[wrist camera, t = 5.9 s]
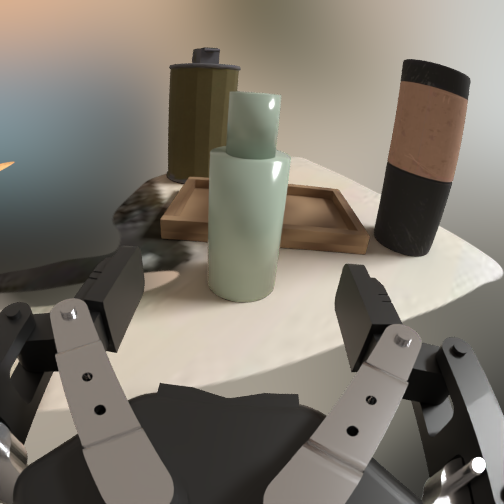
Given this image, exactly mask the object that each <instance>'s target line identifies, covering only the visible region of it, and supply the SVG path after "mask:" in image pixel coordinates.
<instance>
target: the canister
mask: <svg viewBox="0 0 504 504" xmlns="http://www.w3.org/2000/svg"><path fill="white" fill-rule="evenodd" d="M219 53H220V49H218V48H201V49H194V50H193V57H192V62H193V63H188V64H174V65H170V67H169V68H170V69H171V72H170V94H169V127H168V132H169V133H168V172H167V177H168V178H169V179H170V180H172V181H175V182H179V183H183V184H185V182H186V181H187V179H188V178H189V177H204V178H209V172H210V151H211V150H212V149H215V148H218V147H222V146H226V141H227V124H228V109H229V94H230V91H237V86H238V72H239V70H240V67H239V66H235V65H225V64H219Z"/></svg>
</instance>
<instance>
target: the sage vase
mask: <svg viewBox="0 0 504 504" xmlns="http://www.w3.org/2000/svg"><path fill="white" fill-rule="evenodd" d="M280 105H281V95H276V94H267V93H257V92H256V93H255V92H239V91H230V94H229V109H228V124H227V141H226V146H222V147H218V148H215V149H212V150H211V151H210V172H209V208H208V285H209V287H210V289H211V290H212V291H213V292H214V293H215V294H216V295H218V296H219V297H221V298H224V299H226V300H230V301H234V302H253V301H257V300H260V299H263V298H265V297H266V296H268V295H269V294H270V293H271V292H272V291H273V289H274V284H275V277H276V270H277V263H278V256H279V248H280V241H281V233H282V226H283V218H284V211H285V203H286V195H287V187H288V179H289V170H290V162H291V157H290V156H289V155H288V154H287V153H284V152H282V151H278V150H276V145H277V136H278V125H279V115H280Z"/></svg>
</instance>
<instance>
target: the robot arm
mask: <svg viewBox="0 0 504 504" xmlns="http://www.w3.org/2000/svg"><path fill="white" fill-rule="evenodd" d="M143 292H144V272H143V264H142V255H141V250H140V248H139V247H132V246H120V247H119V249H118V250H117V252H116V253H115V254H114V256H113V257H107V258H106V259H104V260H103V261H101V262H100V263H99V264H98V265H97V266H96V268H95V269H94V270H93V272H92V273H91V275H90V276H89V279H87V280H86V281H85V283H84V284H83V286H82V287H81V289H80V290H79V292H78V293H77V294H76V296H75V297H74V298H71V299H66V300H63V301H61V302H59V303H57V304H56V305H55V306H54V307H53V308H52V310H51V312H50V313H44V314H33V313H32V311H31V308H30V306H29V305H28V304H26V303H22V302H17V303H13V304H11V305H9V306H7V307H5V308H4V309H3V310H2V311H1V313H0V503H3V504H504V416H503V414H502V411H501V409H500V407H499V404H498V402H497V399H496V397H495V395H494V393H493V390H492V388H491V386H490V384H489V382H488V380H487V377H486V375H485V373H484V371H483V369H482V367H481V365H480V363H479V361H478V359H477V357H476V355H475V353H474V351H473V349H472V347H471V346H470V345H469V344H468V343H467V342H465V341H464V340H462V339H460V338H456V337H449V338H446V339H445V340H444V341H443V343H442V345H441V347H439V346H434V345H430V344H425V343H422V341H421V338H420V336H419V334H418V333H417V332H416V331H415V330H414V329H412V328H410V327H408V326H406V325H403V324H402V322H401V320H400V318H399V316H398V314H397V312H396V310H395V308H394V306H393V304H392V303H391V300H390V298H389V296H388V294H387V292H386V290H385V288H384V286H383V285H382V284H381V283H380V282H379V281H378V280H377V279H376V278H370V276H369V274H368V272H367V270H366V268H365V266H364V265H357V264H345V265H344V267H343V270H342V274H341V278H340V281H339V285H338V289H337V292H336V296H335V312H336V315H337V319H338V323H339V326H340V330H341V334H342V337H343V341H344V345H345V348H346V352H347V356H348V360H349V364H350V368H351V372H357V373H356V375H355V376H354V378H353V379H352V381H351V382H350V384H349V386H348V387H347V389H346V390H345V391H344V393H343V394H342V396H341V397H340V398H339V400H338V401H337V403H336V404H335V405H334V407H333V408H332V410H331V411H330V412H329V414H328V415H327V416H326V415H324V414H323V413H321V412H319V411H318V410H315V409H313V408H311V407H308V406H304V405H301V404H299V399H298V394H270V393H269V394H268V393H263V394H257V395H250V396H243V397H236V398H225V397H221V396H218V395H215V394H212V393H209V392H205V391H202V390H199V389H196V388H193V387H186V386H178V385H171V384H164V383H160V385H159V388H158V392H157V393H149V394H144V395H140V396H137V397H134V398H132V399H130V400H127V398H126V396H125V394H124V392H123V390H122V388H121V386H120V383H119V381H118V379H117V377H116V375H115V372H114V370H113V368H112V366H111V363H110V361H109V359H108V356H107V354H106V351H109V352H115V353H117V351H118V349H119V346H120V344H121V342H122V339H123V337H124V335H125V332H126V330H127V328H128V326H129V323H130V321H131V319H132V317H133V315H134V312H135V310H136V308H137V306H138V304H139V302H140V300H141V297H142V295H143ZM16 358H18V360H19V363H18V365H17V367H16V368H15V370H14V372H13V374H12V376H11V378H10V370H11V367H12V366H13V364H14V362H15V360H16ZM54 371H59V374H60V377H61V381H62V385H63V388H64V392H65V395H66V399H67V402H68V405H69V409H70V411H71V415H72V418H73V421H74V423H75V427H76V429H77V432H78V434H77V435H75V436H74V437H72V438H71V439H69V440H67V441H66V442H64V443H63V444H61V445H60V446H58V447H57V448H55V449H54V450H52V451H50V452H49V453H47V454H46V455H44V456H43V457H41V458H39V459H38V460H36V461H35V462H33V463H31V464H30V465H29V466H28V464H27V459H28V458H27V457H28V456H27V451H26V449H25V447H24V443H25V441H26V438H27V435H28V432H29V430H30V427H31V424H32V422H33V419H34V416H35V414H36V411H37V409H38V406H39V404H40V401H41V399H42V397H43V394H44V392H45V390H46V387H47V385H48V383H49V380H50V378H51V376H52V374H53V372H54ZM448 395H450V396H451V399H452V402H453V405H454V413H453V410H452V407H451V404H450V402H449V399H448ZM402 399H406V400H411V401H412V405H413V409H414V412H415V416H416V420H417V424H418V428H419V432H420V436H421V440H422V444H423V449H424V453H425V458H426V462H427V467H428V472H429V477H430V478H429V479H428V480H427V482H426V483H425V485H424V489H423V497H422V499H421V500H420V499H419V498H418V497H417V496H416V495H415V494H414V493H413V492H412V491H410V490H409V489H408V488H407V487H406V486H404V485H403V484H402V483H401V482H400V481H399V480H397V479H396V478H395V477H394V476H393V475H392V474H391V473H389V472H388V471H387V470H386V469H385V468H384V467H383V466H381V465H380V464H379V463H378V462H377V461H376V460H375V459H374V458H372V456H373V454H374V453H375V451H376V449H377V447H378V445H379V444H380V442H381V440H382V438H383V436H384V434H385V432H386V430H387V428H388V426H389V424H390V422H391V420H392V418H393V416H394V414H395V412H396V410H397V408H398V406H399V404H400V402H401V400H402Z"/></svg>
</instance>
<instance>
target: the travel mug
mask: <svg viewBox="0 0 504 504" xmlns="http://www.w3.org/2000/svg"><path fill="white" fill-rule="evenodd" d="M469 87H470V78H469V77H468V76H466V75H465V74H463V73H461V72H459V71H457V70H454V69H452V68H449V67H446V66H443V65H440V64H436V63H432V62H427V61H422V60H414V59H407V60H404V62H403V68H402V76H401V83H400V91H399V98H398V105H397V111H396V117H395V123H394V129H393V134H392V140H391V145H390V150H389V156H388V162H387V166H386V172H385V178H384V184H383V189H382V194H381V199H380V204H379V209H378V214H377V219H376V224H375V229H374V236H375V238H376V239H377V240H378V241H379V242H380V243H381V244H382V245H384V246H385V247H387V248H389V249H391V250H393V251H396V252H398V253H401V254H405V255H410V256H423V255H426V254H427V253H428V252H429V250H430V248H431V245H432V243H433V240H434V237H435V235H436V232H437V229H438V226H439V223H440V220H441V217H442V214H443V211H444V208H445V205H446V202H447V199H448V195H449V192H450V189H451V185H452V181H453V178H454V174H455V170H456V165H457V160H458V156H459V150H460V146H461V141H462V135H463V129H464V123H465V117H466V110H467V103H468V95H469Z"/></svg>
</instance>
